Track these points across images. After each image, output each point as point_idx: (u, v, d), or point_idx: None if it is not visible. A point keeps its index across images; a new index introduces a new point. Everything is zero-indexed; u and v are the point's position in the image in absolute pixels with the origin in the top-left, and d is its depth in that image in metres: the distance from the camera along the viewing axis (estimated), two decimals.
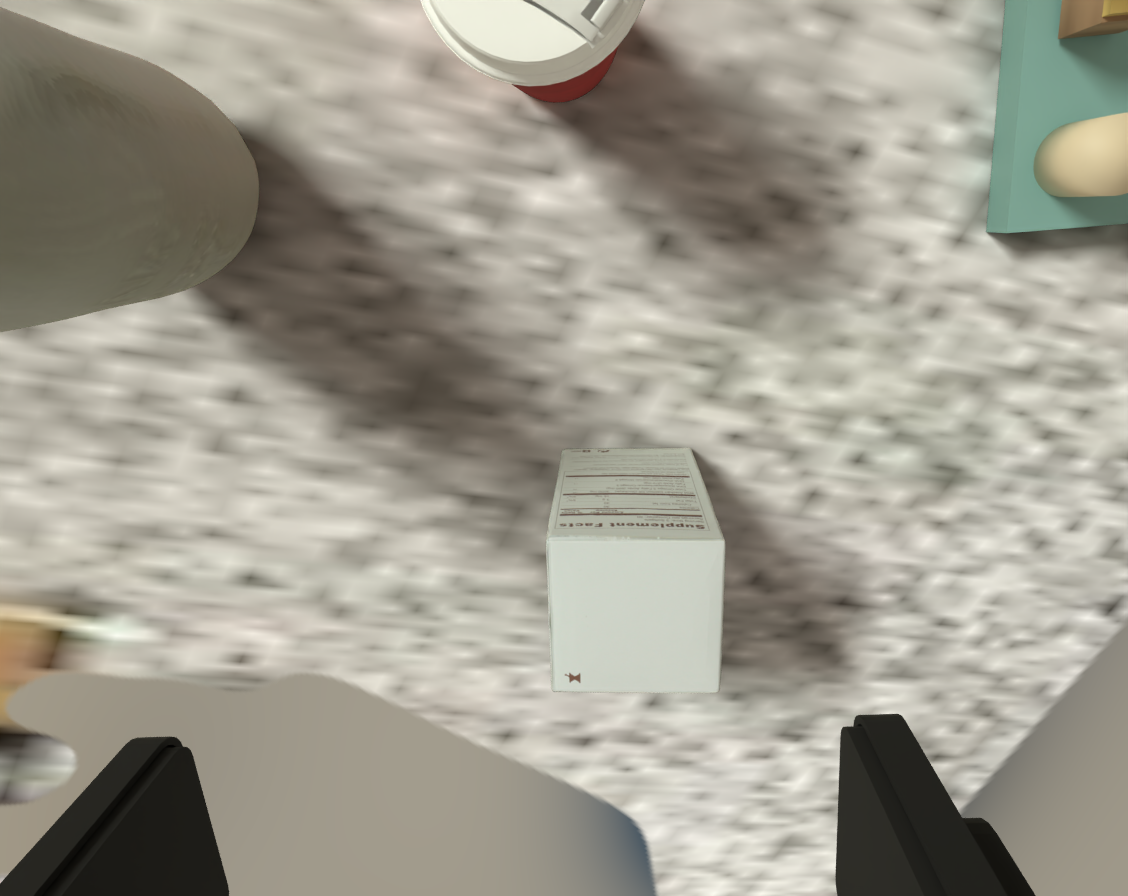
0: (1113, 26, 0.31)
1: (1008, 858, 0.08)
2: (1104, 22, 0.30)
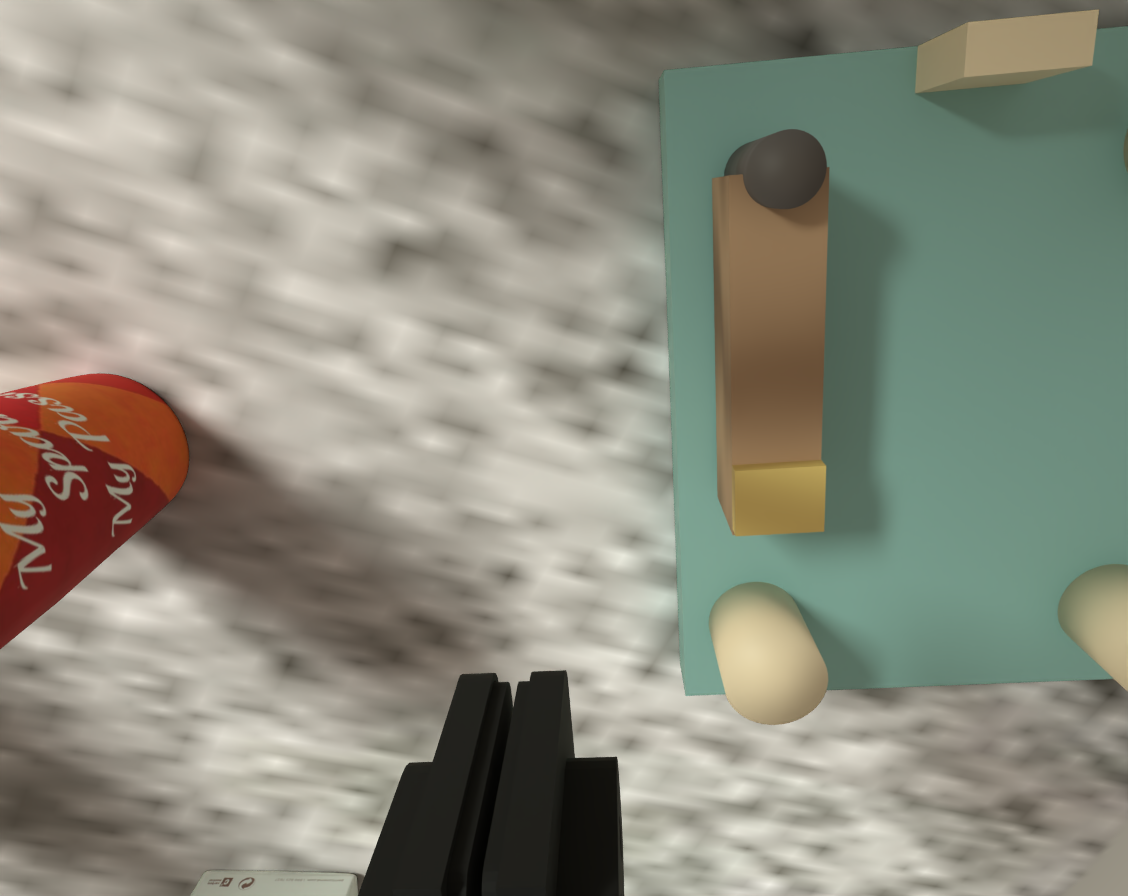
0: None
1: (616, 787, 0.10)
2: None
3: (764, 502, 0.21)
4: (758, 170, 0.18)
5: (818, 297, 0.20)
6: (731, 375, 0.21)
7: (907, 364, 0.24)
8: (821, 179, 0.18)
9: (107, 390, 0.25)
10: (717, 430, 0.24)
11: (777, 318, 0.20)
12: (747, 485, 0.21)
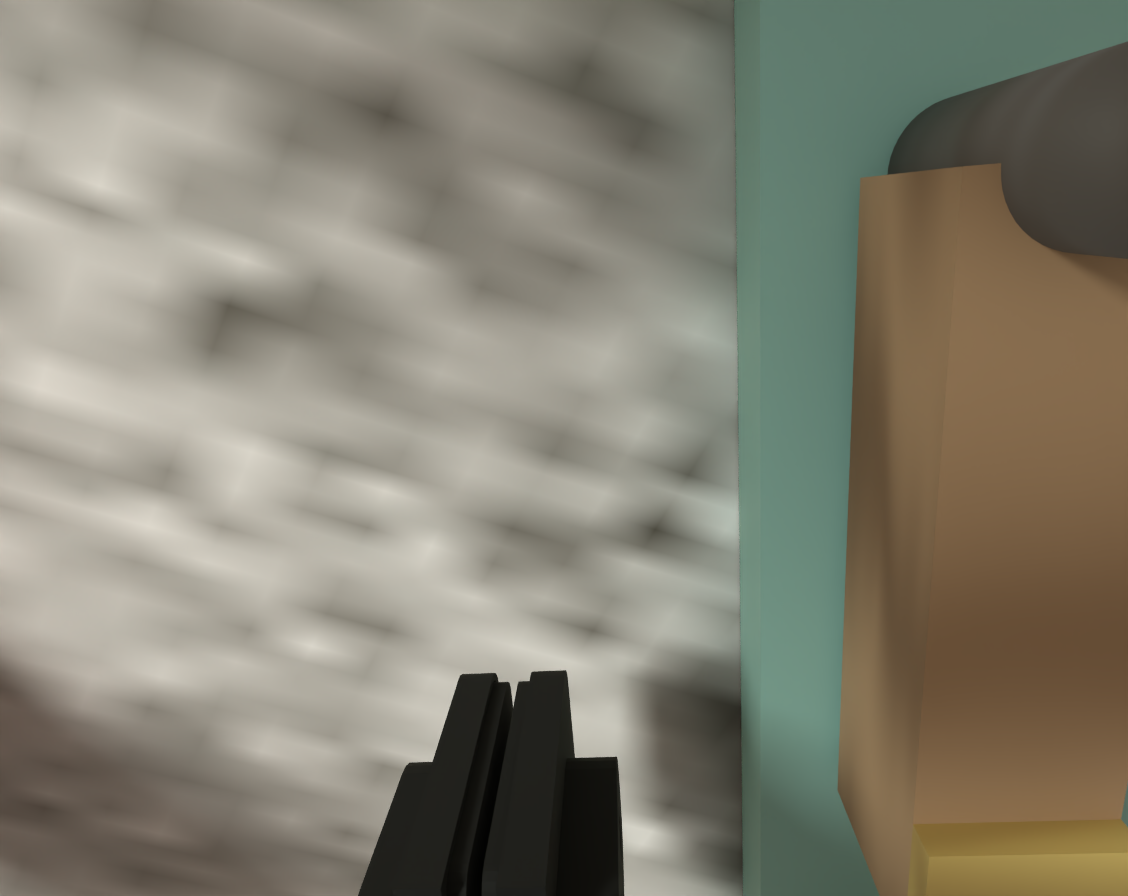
0: None
1: (617, 788, 0.10)
2: None
3: None
4: (1088, 148, 0.06)
5: None
6: (927, 642, 0.09)
7: None
8: None
9: None
10: (846, 680, 0.12)
11: (1053, 519, 0.08)
12: (955, 885, 0.09)
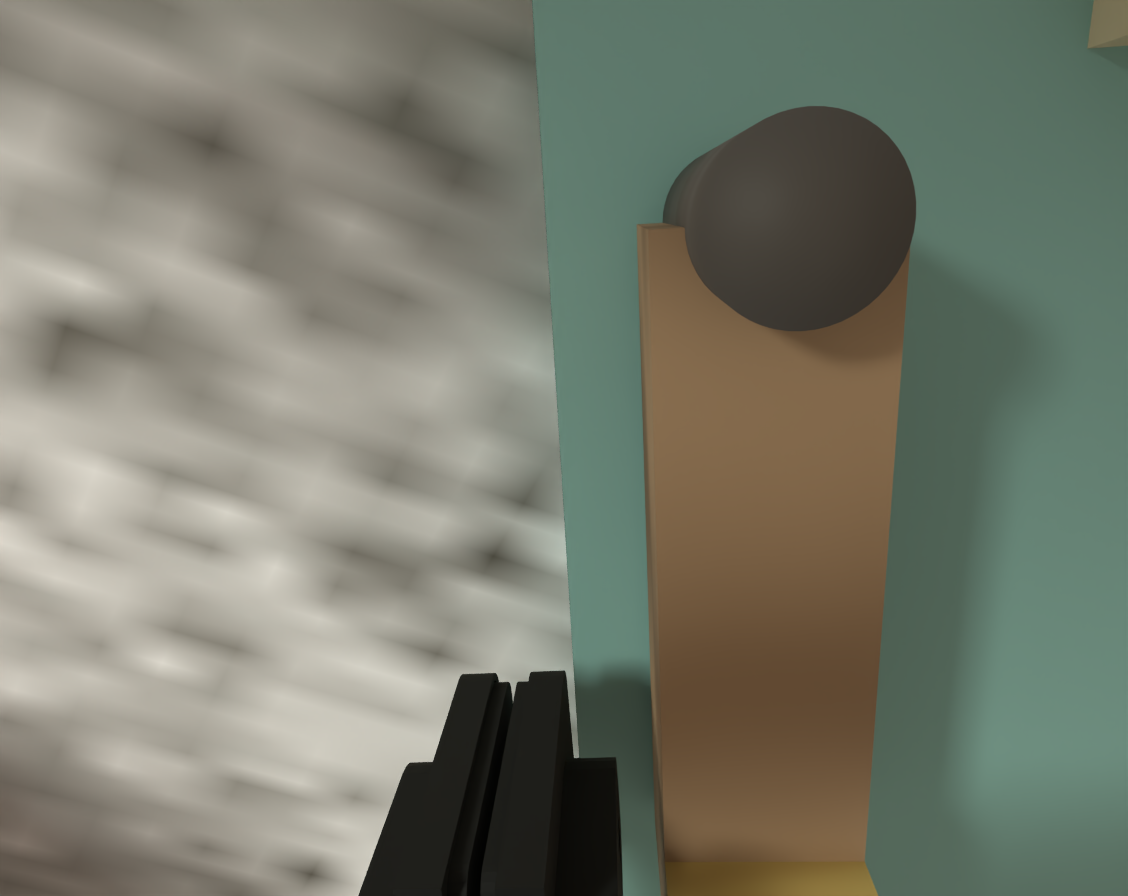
0: None
1: (616, 788, 0.10)
2: None
3: None
4: (720, 222, 0.06)
5: (870, 526, 0.08)
6: (661, 686, 0.09)
7: (1031, 599, 0.12)
8: (899, 253, 0.06)
9: None
10: (652, 712, 0.12)
11: (769, 570, 0.08)
12: None
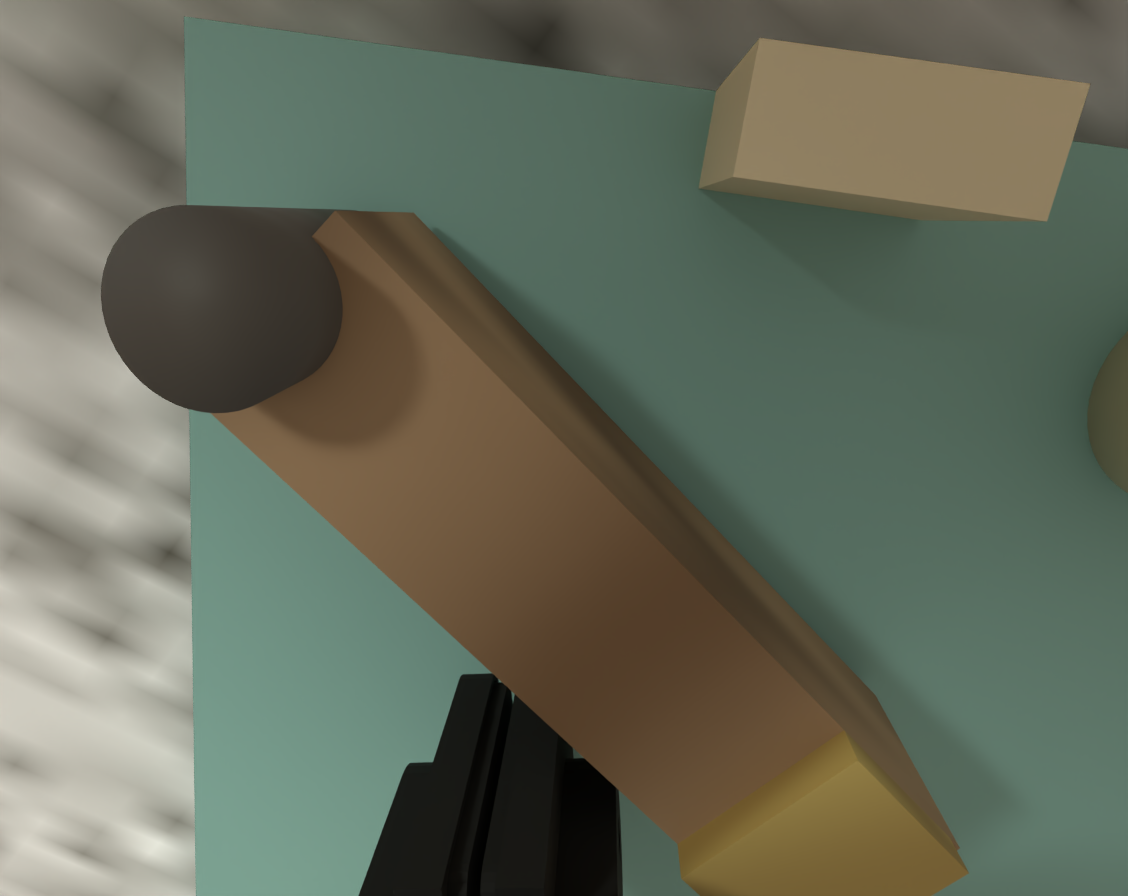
0: None
1: (616, 788, 0.10)
2: None
3: (793, 894, 0.09)
4: (150, 363, 0.07)
5: (553, 459, 0.08)
6: (529, 704, 0.09)
7: None
8: (283, 274, 0.06)
9: None
10: None
11: (514, 553, 0.08)
12: (729, 886, 0.09)
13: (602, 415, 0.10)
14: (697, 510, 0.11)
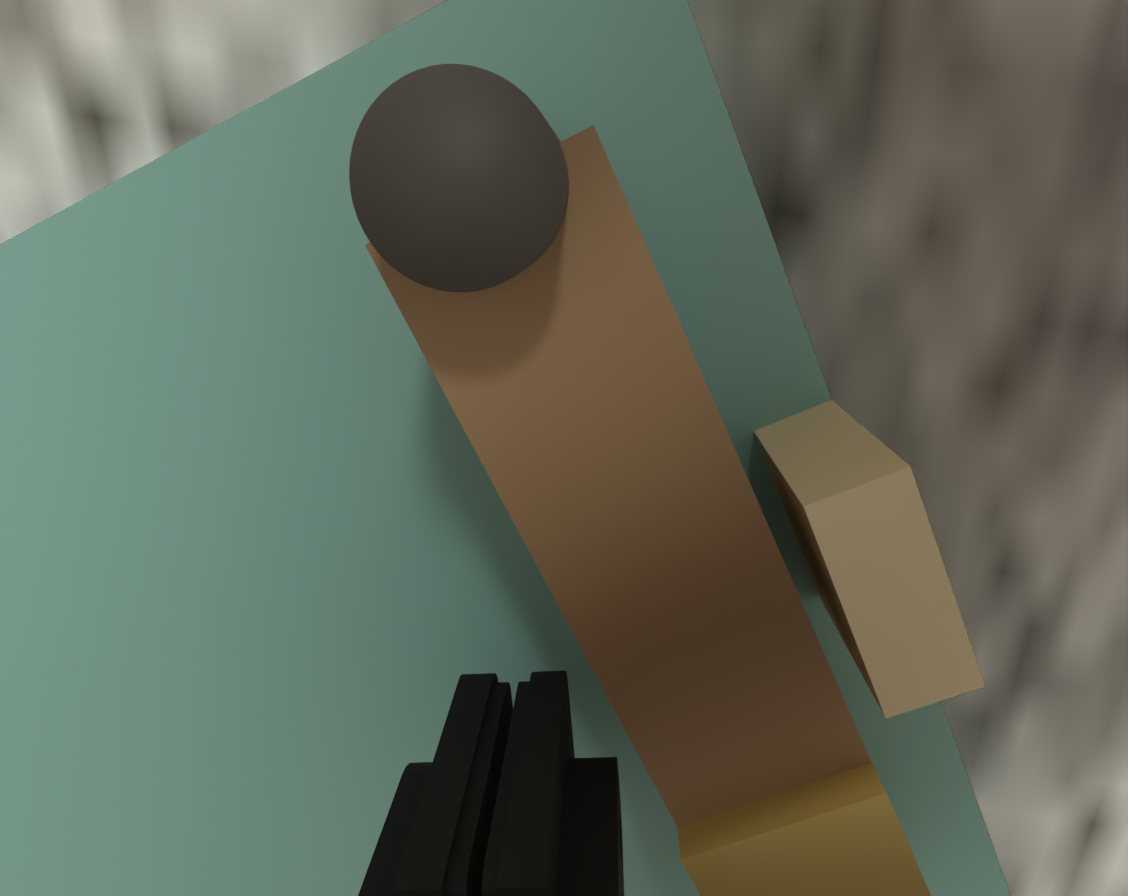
0: None
1: (616, 787, 0.10)
2: None
3: None
4: (380, 216, 0.06)
5: (707, 434, 0.08)
6: (589, 659, 0.09)
7: (315, 623, 0.13)
8: (554, 172, 0.06)
9: None
10: None
11: (633, 512, 0.08)
12: (722, 879, 0.09)
13: None
14: None
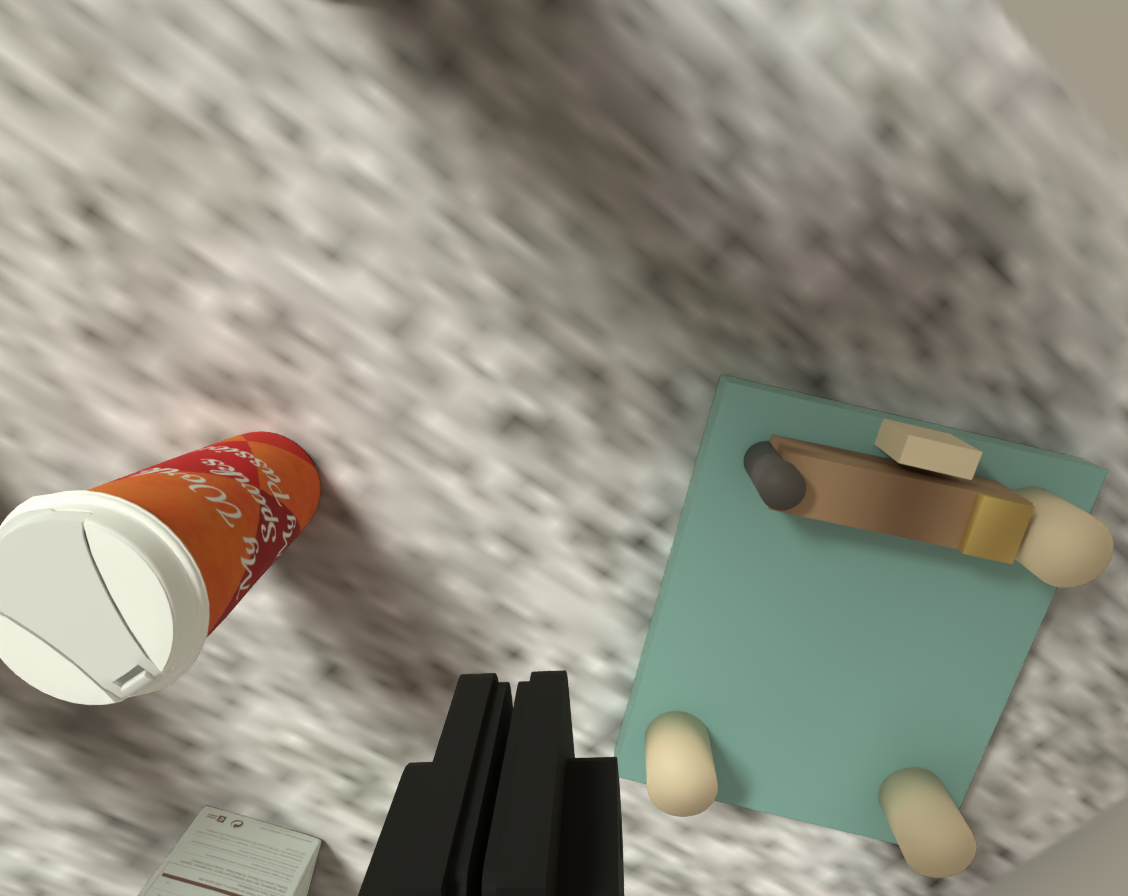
0: None
1: (616, 788, 0.10)
2: None
3: (994, 540, 0.30)
4: (776, 505, 0.30)
5: (863, 473, 0.30)
6: (894, 535, 0.31)
7: (825, 602, 0.35)
8: (795, 471, 0.29)
9: (287, 454, 0.35)
10: None
11: (867, 500, 0.30)
12: (977, 548, 0.30)
13: (857, 453, 0.33)
14: None
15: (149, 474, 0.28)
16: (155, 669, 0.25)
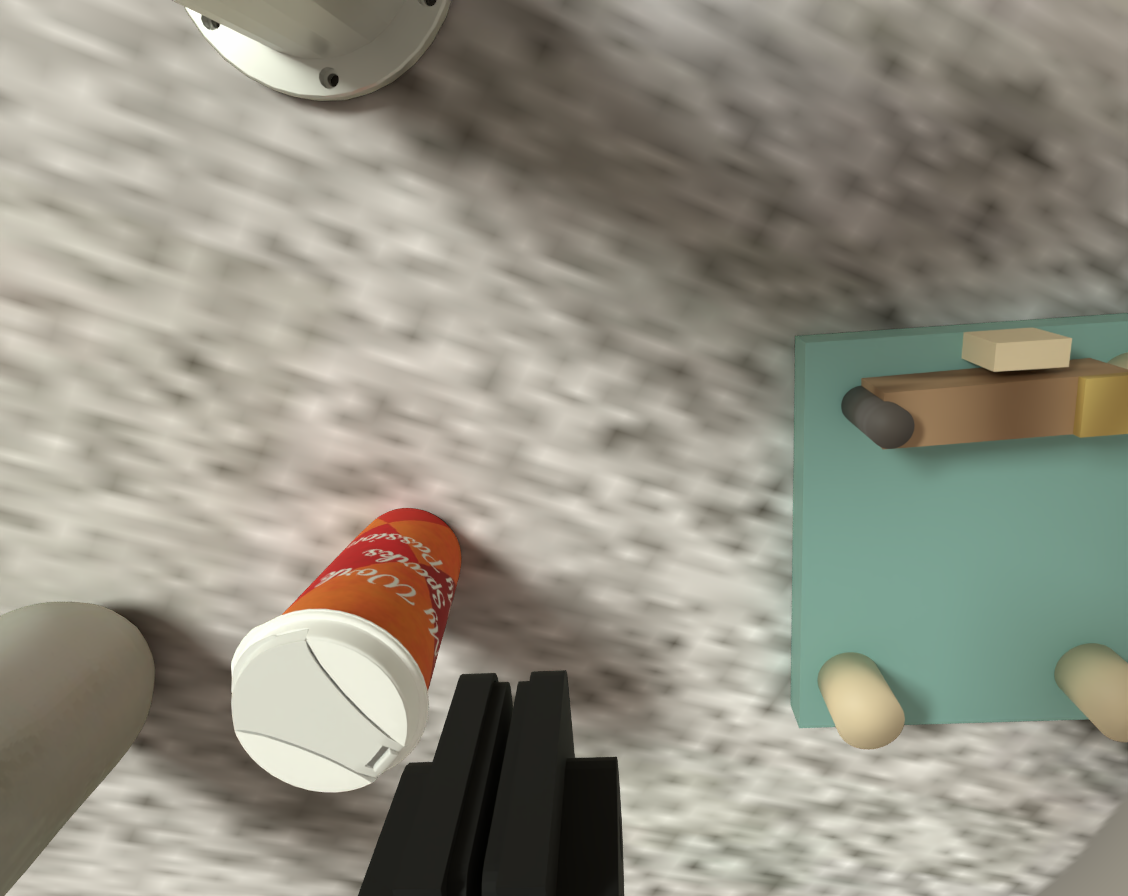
0: None
1: (617, 788, 0.10)
2: None
3: (1107, 416, 0.31)
4: (890, 444, 0.31)
5: (963, 390, 0.31)
6: None
7: (954, 516, 0.37)
8: (899, 409, 0.31)
9: (425, 524, 0.38)
10: None
11: (973, 414, 0.32)
12: (1092, 428, 0.31)
13: (948, 372, 0.34)
14: None
15: (331, 580, 0.31)
16: (397, 745, 0.28)
